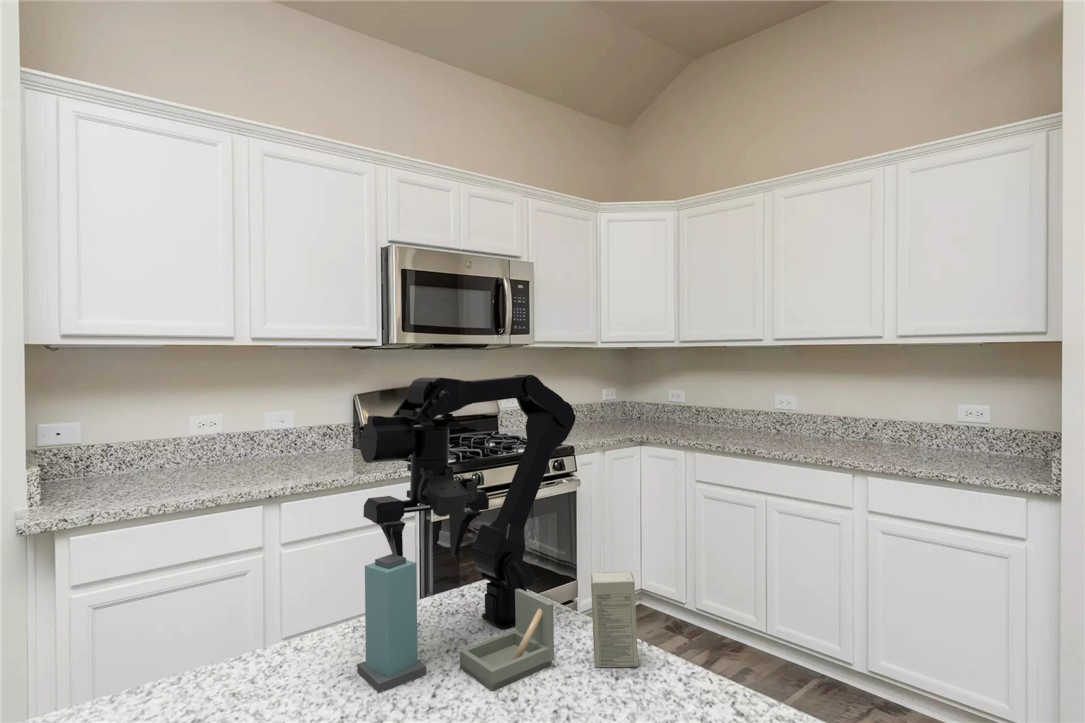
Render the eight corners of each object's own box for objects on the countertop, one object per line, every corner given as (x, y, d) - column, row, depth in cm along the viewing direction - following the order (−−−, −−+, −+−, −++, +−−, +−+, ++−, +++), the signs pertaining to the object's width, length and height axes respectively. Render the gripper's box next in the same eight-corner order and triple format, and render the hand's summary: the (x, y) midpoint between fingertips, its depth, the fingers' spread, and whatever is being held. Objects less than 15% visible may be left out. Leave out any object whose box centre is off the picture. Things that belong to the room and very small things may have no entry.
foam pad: (403, 656, 88) (403, 648, 88) (426, 674, 83) (426, 666, 83) (357, 672, 84) (357, 664, 84) (378, 693, 78) (378, 683, 78)
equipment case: (520, 644, 91) (519, 588, 92) (554, 663, 85) (553, 603, 85) (459, 668, 85) (459, 607, 85) (492, 691, 78) (491, 625, 79)
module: (394, 652, 87) (393, 550, 87) (417, 662, 84) (416, 557, 84) (365, 666, 83) (364, 560, 83) (388, 677, 80) (387, 566, 80)
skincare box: (634, 653, 88) (633, 570, 88) (638, 668, 84) (637, 581, 84) (591, 653, 88) (590, 570, 88) (593, 668, 84) (591, 581, 84)
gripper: (394, 469, 80) (391, 587, 79) (509, 460, 91) (507, 563, 91) (363, 460, 89) (360, 566, 88) (472, 453, 100) (470, 547, 100)
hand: (427, 560), depth 91 cm, fingers open, 9 cm apart
